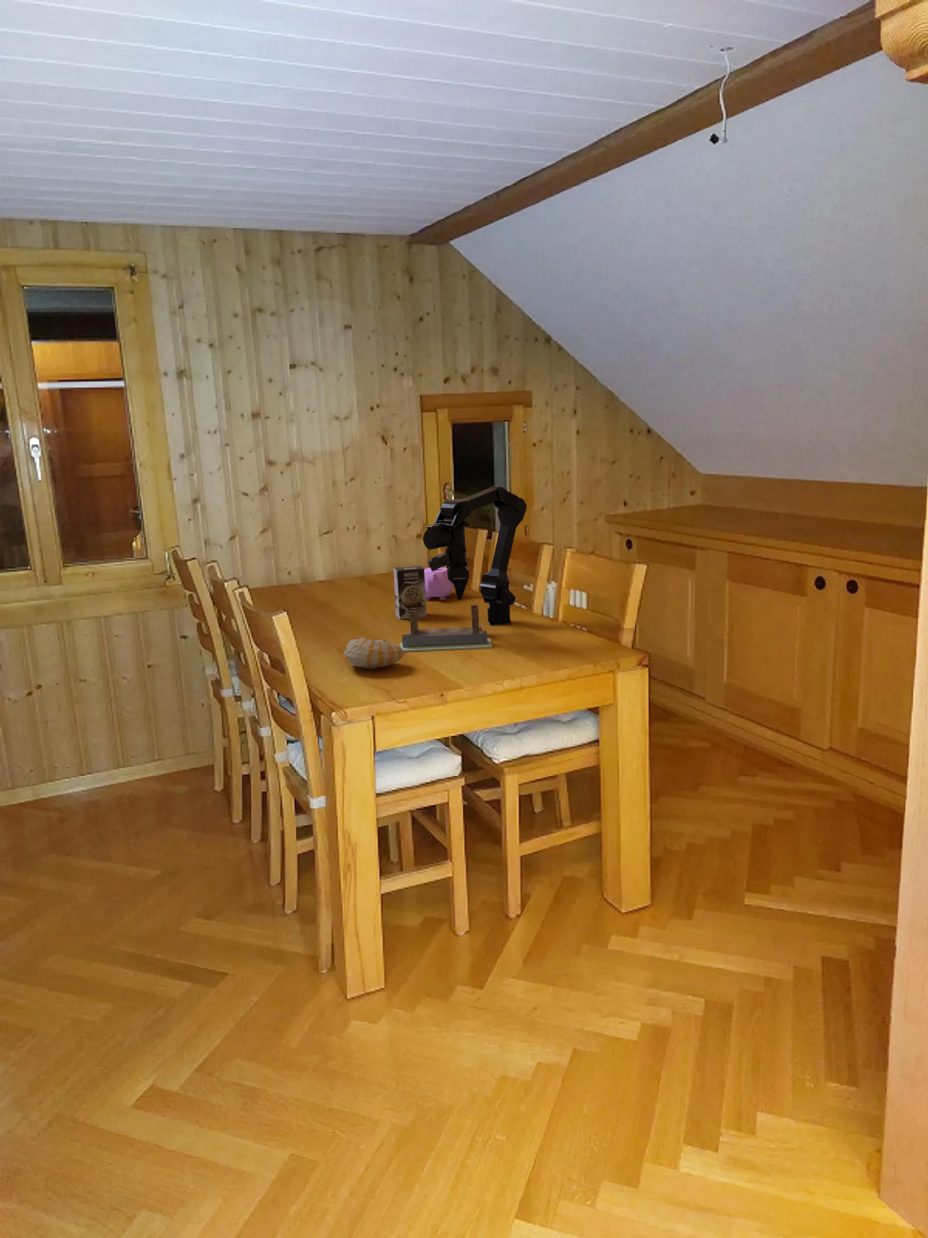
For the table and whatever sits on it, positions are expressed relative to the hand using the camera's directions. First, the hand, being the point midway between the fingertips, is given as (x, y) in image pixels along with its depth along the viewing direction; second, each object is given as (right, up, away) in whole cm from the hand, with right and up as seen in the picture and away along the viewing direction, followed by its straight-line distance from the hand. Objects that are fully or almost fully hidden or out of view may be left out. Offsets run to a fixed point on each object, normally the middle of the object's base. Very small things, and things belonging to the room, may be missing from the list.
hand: (459, 596), depth 276 cm
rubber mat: (-4, -14, -10) cm, 18 cm away
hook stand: (-4, -12, +1) cm, 13 cm away
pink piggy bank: (-8, +1, +55) cm, 56 cm away
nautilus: (-24, -19, -25) cm, 39 cm away
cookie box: (-16, -6, +28) cm, 32 cm away
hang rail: (-4, -14, -10) cm, 18 cm away
